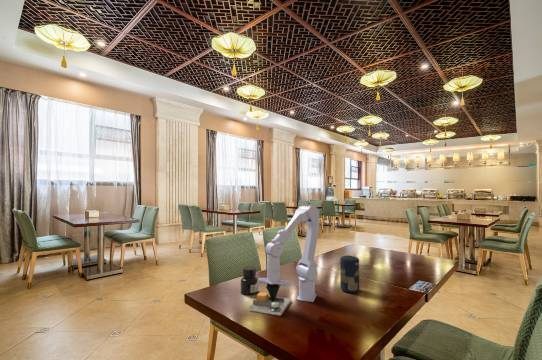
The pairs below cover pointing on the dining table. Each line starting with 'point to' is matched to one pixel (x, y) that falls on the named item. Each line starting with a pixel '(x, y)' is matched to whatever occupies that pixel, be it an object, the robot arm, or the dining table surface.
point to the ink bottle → (249, 281)
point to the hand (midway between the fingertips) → (273, 301)
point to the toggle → (262, 296)
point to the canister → (349, 273)
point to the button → (275, 304)
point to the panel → (267, 308)
